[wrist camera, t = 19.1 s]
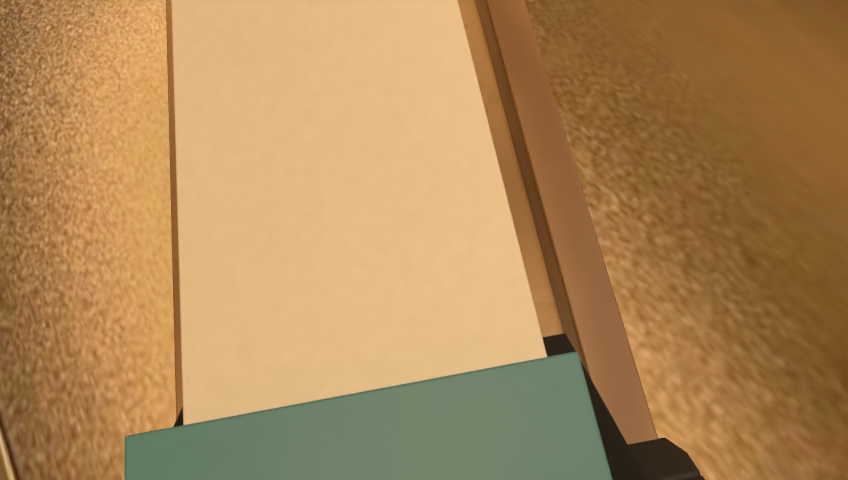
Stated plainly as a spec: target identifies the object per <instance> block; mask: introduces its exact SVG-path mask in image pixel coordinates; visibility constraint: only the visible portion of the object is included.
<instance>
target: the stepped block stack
mask: <svg viewBox="0 0 848 480" xmlns="http://www.w3.org/2000/svg"><path fill="white" fill-rule="evenodd" d="M171 5H172V41H173V76H174V111H175V146H176V181H177V216H178V252H179V287H180V322H181V357H182V392H183V425H182V426H176V427H171V428H166V429H160V430H155V431H150V432H144V433H139V434H134V435H129V436H127V437H126V438H125V480H613V479H612V476H611V472H610V468H609V465H608V461H607V457H606V454H605V450H604V446H603V442H602V439H601V435H600V431H599V428H598V424H597V420H596V417H595V413H594V409H593V406H592V402H591V398H590V395H589V391H588V387H587V383H586V380H585V376H584V372H583V369H582V365H581V361H580V358H579V355H578V353H577V352H571V353H565V354H560V355H555V356H549V357H547V354H546V350H545V346H544V342H543V338H542V334H541V330H540V326H539V322H538V318H537V314H536V310H535V306H534V302H533V298H532V294H531V290H530V286H529V282H528V278H527V275H526V271H525V267H524V263H523V259H522V255H521V251H520V247H519V243H518V239H517V235H516V231H515V227H514V223H513V219H512V215H511V211H510V207H509V203H508V199H507V195H506V191H505V187H504V183H503V179H502V175H501V171H500V167H499V163H498V159H497V155H496V151H495V147H494V143H493V139H492V136H491V132H490V128H489V124H488V120H487V116H486V112H485V108H484V104H483V100H482V96H481V92H480V88H479V84H478V80H477V76H476V72H475V68H474V64H473V60H472V56H471V52H470V48H469V44H468V40H467V36H466V32H465V28H464V24H463V20H462V16H461V12H460V8H459V4H458V1H457V0H171Z"/></svg>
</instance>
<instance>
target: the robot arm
mask: <svg viewBox="0 0 848 480" xmlns="http://www.w3.org/2000/svg"><path fill="white" fill-rule="evenodd" d="M542 338H543V342H544V346H545V350H546V354H547V357H549V356H555V355H560V354H565V353H571V352H576V351H575V349H574V348H573V346H572V344H571V342H570V340H569V339H568V337H567V335H566V333H563V334H557V335H552V336H547V337H542ZM580 361H581V360H580ZM581 365H582V369H583V372H584V376H585V380H586V383H587V387H588V391H589V395H590V398H591V402H592V406H593V409H594V413H595V417H596V420H597V424H598V428H599V431H600V435H601V439H602V442H603V446H604V450H605V454H606V457H607V461H608V465H609V468H610V472H611V476H612V479H613V480H705V479H704V478H703V476H701V475H700V472H699V470H698V469H697V467H696V466H695V464H694V463H693V461H692V460H691V458H690V457H689V455H688V454H687V452H685V451H684V450H682V449H681V448H679V447H678V446H676V445H675V444H674V443H672V442H671V441H669V440H668V439H666V438H660V439H655V440H649V441H644V442H639V443H634V444H627V443H626V441H625V439H624V437H623V435H622V434H621V432H620V430H619V428H618V426H617V425H616V423H615V421H614V419H613V417H612V416H611V414H610V412H609V410H608V408H607V407H606V405H605V403H604V401H603V400H602V398H601V396H600V394H599V392H598V391H597V389H596V387H595V385H594V383H593V382H592V380H591V378H590V376H589V374H588V373H587V371H586V369H585V367H584V365H583V364H582V362H581ZM182 425H183V406H182V409H181V411H180V413H179V416H178V418H177V420H176V422H175V425H174V427H176V426H182Z"/></svg>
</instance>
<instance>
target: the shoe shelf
mask: <svg viewBox="0 0 848 480" xmlns="http://www.w3.org/2000/svg"><path fill="white" fill-rule="evenodd" d="M457 1H458V4H459V8H460V12H461V16H462V20H463V24H464V28H465V32H466V36H467V40H468V44H469V48H470V52H471V56H472V60H473V64H474V68H475V72H476V76H477V80H478V84H479V88H480V92H481V96H482V100H483V104H484V108H485V112H486V116H487V120H488V124H489V128H490V132H491V136H492V139H493V143H494V147H495V151H496V155H497V159H498V163H499V167H500V171H501V175H502V179H503V183H504V187H505V191H506V195H507V199H508V203H509V207H510V211H511V215H512V219H513V223H514V227H515V231H516V235H517V239H518V243H519V247H520V251H521V255H522V259H523V263H524V267H525V271H526V275H527V278H528V282H529V286H530V290H531V294H532V298H533V302H534V306H535V310H536V314H537V318H538V322H539V326H540V330H541V334H542V337H547V336H552V335H557V334H563V333H566V335H567V337H568V339H569V340H570V342H571V344H572V346H573V348H574V349H575V351H576V352H577V353H578V355H579V358H580V360H581V362H582V364H583V365H584V367H585V369H586V371H587V373H588V374H589V376H590V378H591V380H592V382H593V383H594V385H595V387H596V389H597V391H598V392H599V394H600V396H601V398H602V400H603V401H604V403H605V405H606V407H607V408H608V410H609V412H610V414H611V416H612V417H613V419H614V421H615V423H616V425H617V426H618V428H619V430H620V432H621V434H622V435H623V437H624V439H625V441H626V443H627V444H634V443H639V442H644V441H649V440H655V439H658V437H657V434H656V430H655V427H654V424H653V420H652V417H651V414H650V411H649V407H648V404H647V401H646V397H645V394H644V391H643V388H642V384H641V381H640V378H639V374H638V371H637V368H636V365H635V361H634V358H633V355H632V351H631V348H630V345H629V342H628V338H627V335H626V332H625V328H624V325H623V322H622V319H621V315H620V312H619V309H618V305H617V302H616V299H615V296H614V292H613V289H612V286H611V282H610V279H609V276H608V273H607V269H606V266H605V263H604V259H603V256H602V253H601V250H600V246H599V243H598V240H597V236H596V233H595V230H594V227H593V223H592V220H591V217H590V213H589V210H588V207H587V204H586V200H585V197H584V194H583V190H582V187H581V184H580V181H579V177H578V174H577V171H576V167H575V164H574V161H573V158H572V154H571V151H570V148H569V144H568V141H567V138H566V135H565V131H564V128H563V125H562V121H561V118H560V115H559V112H558V108H557V105H556V102H555V98H554V95H553V92H552V89H551V85H550V82H549V79H548V75H547V72H546V69H545V66H544V62H543V59H542V56H541V52H540V49H539V46H538V43H537V39H536V36H535V33H534V29H533V26H532V23H531V20H530V16H529V13H528V10H527V6H526V3H525V0H457ZM166 22H167V62H168V102H169V142H170V182H171V222H172V262H173V302H174V341H175V381H176V420H177V418H178V416H179V413H180V411H181V409H182V406H183V392H182V357H181V322H180V287H179V252H178V216H177V181H176V146H175V111H174V76H173V41H172V5H171V0H166Z"/></svg>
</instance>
